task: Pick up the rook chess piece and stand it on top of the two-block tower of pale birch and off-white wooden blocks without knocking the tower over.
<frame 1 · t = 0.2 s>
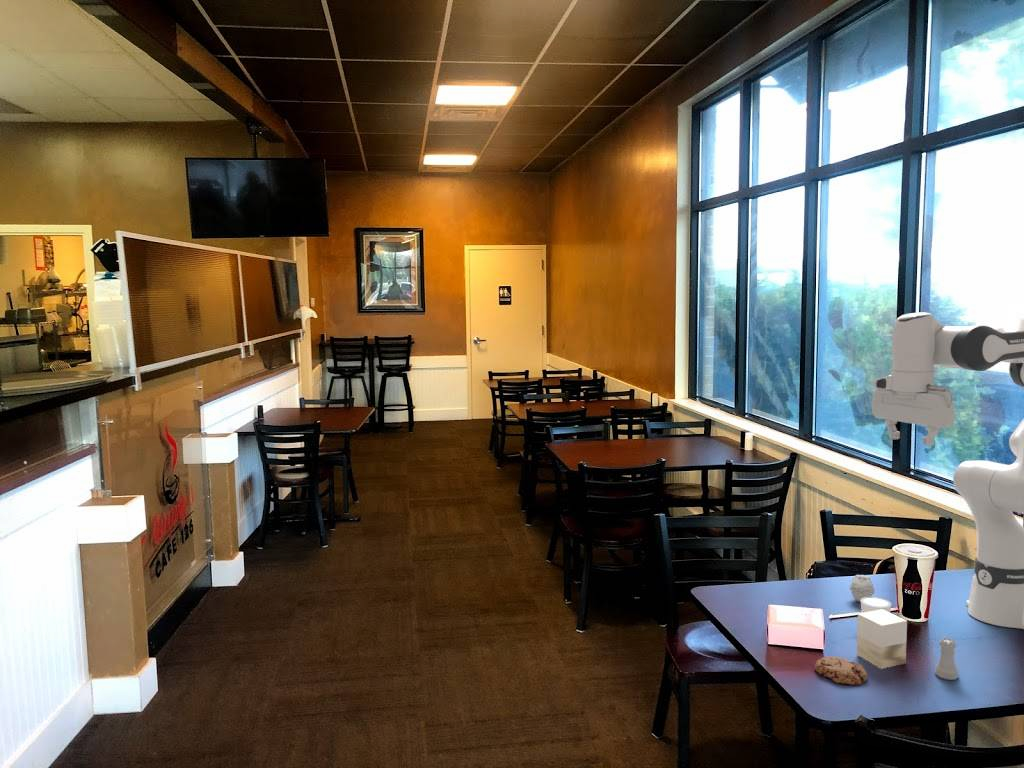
hand: (910, 442, 177), 47 cm above the table, tool pointing down, fingers open, 8 cm apart
cookie: (840, 676, 165), on the table
rook chess piece: (946, 676, 163), on the table
lower block: (880, 659, 171), on the table, touching upper block
upper block: (881, 638, 170), point 5 cm above the table, touching lower block
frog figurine: (861, 602, 204), on the table
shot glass: (875, 629, 187), on the table
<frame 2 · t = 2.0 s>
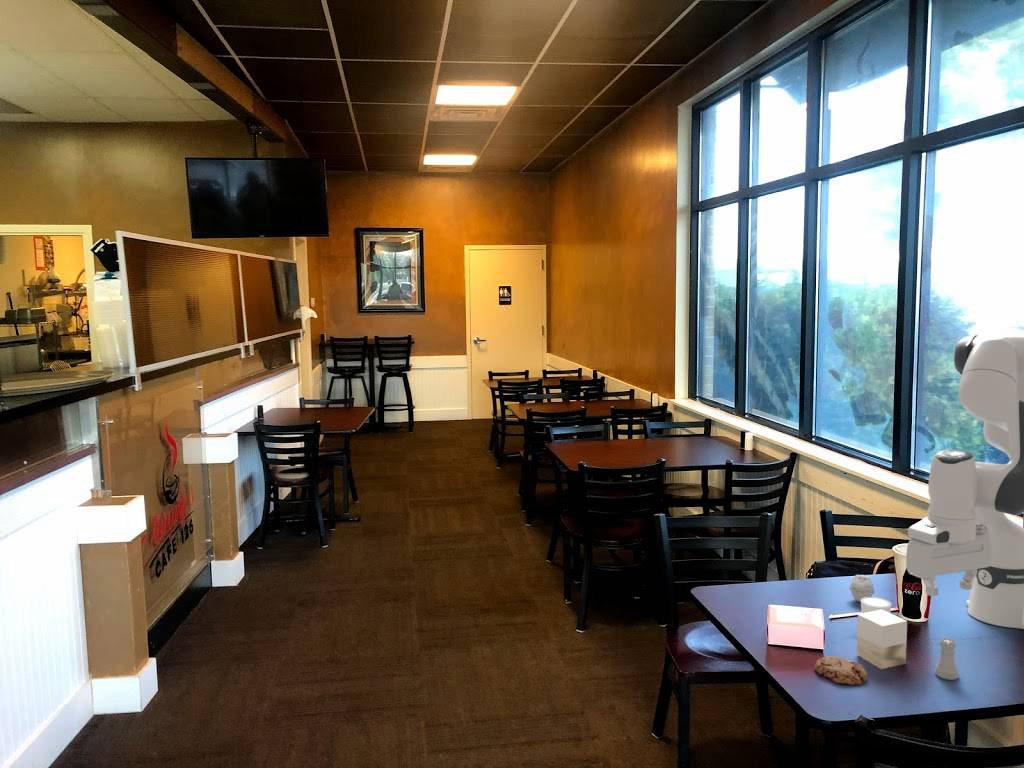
hand: (949, 591, 161), 19 cm above the table, tool pointing down, fingers open, 8 cm apart
nothing on the table moved.
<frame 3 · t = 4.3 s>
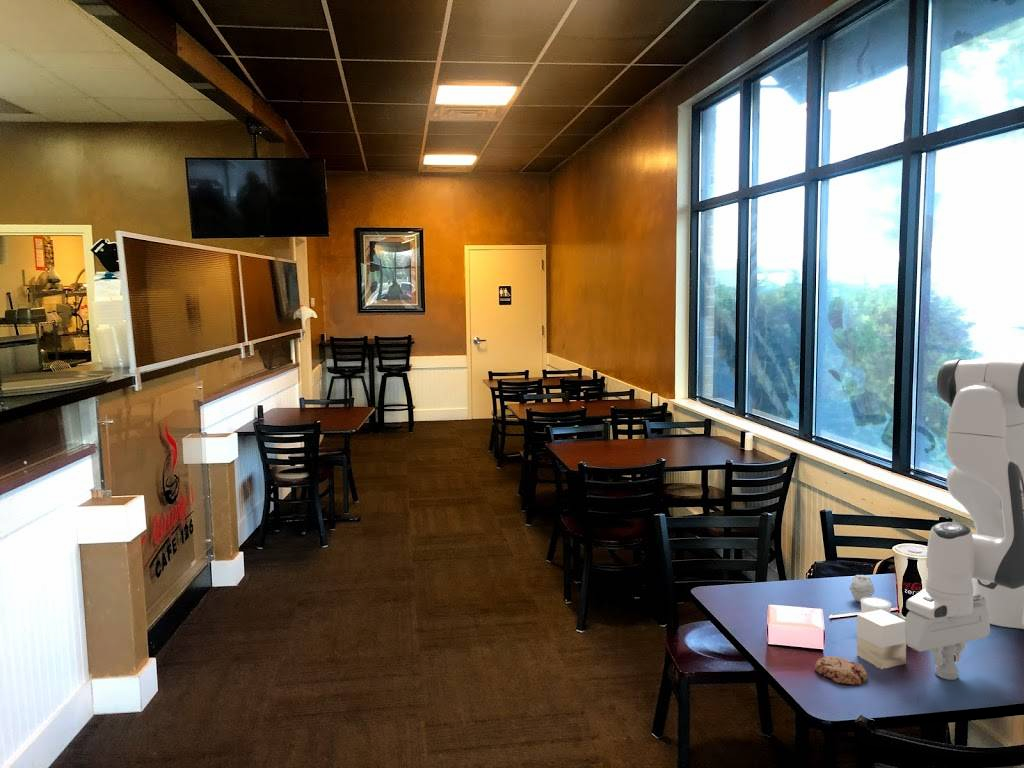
hand: (947, 662, 162), 3 cm above the table, tool pointing down, fingers closed on rook chess piece, 3 cm apart
rook chess piece: (946, 676, 163), on the table, touching gripper
everything else where it was.
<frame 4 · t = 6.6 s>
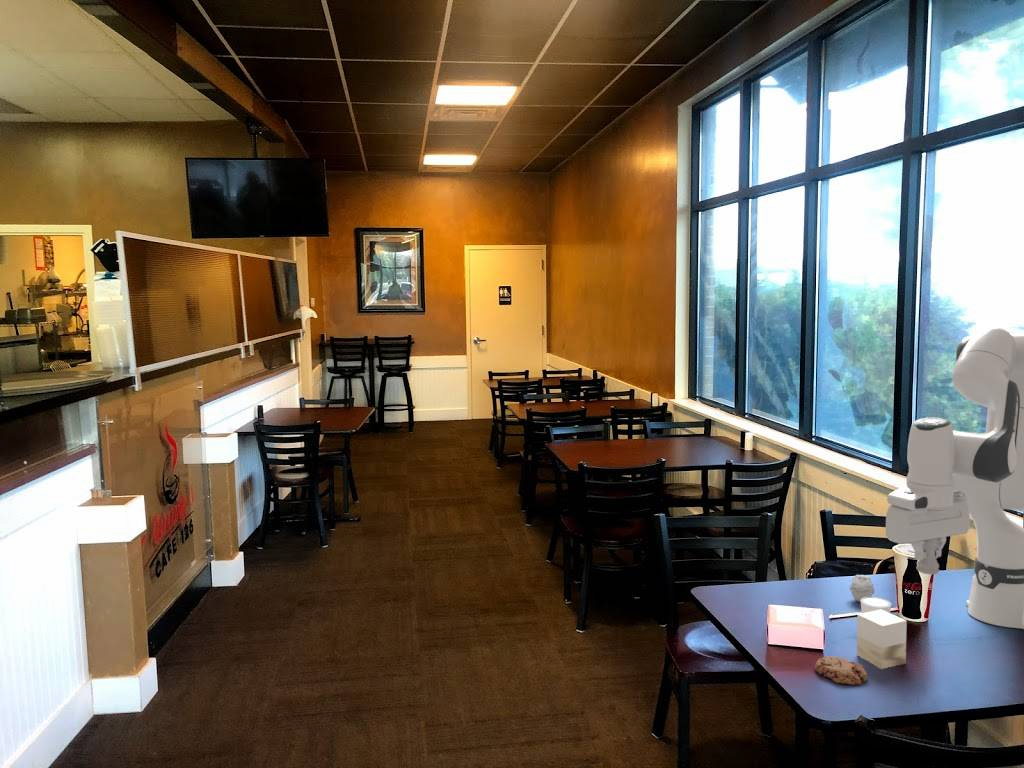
hand: (927, 557, 163), 25 cm above the table, tool pointing down, fingers closed on rook chess piece, 3 cm apart
rook chess piece: (927, 572, 163), point 22 cm above the table, touching gripper
everything else where it was.
when the fingers open (14 cm above the table, at t = 9.2 s): rook chess piece drops 1 cm, resting on upper block.
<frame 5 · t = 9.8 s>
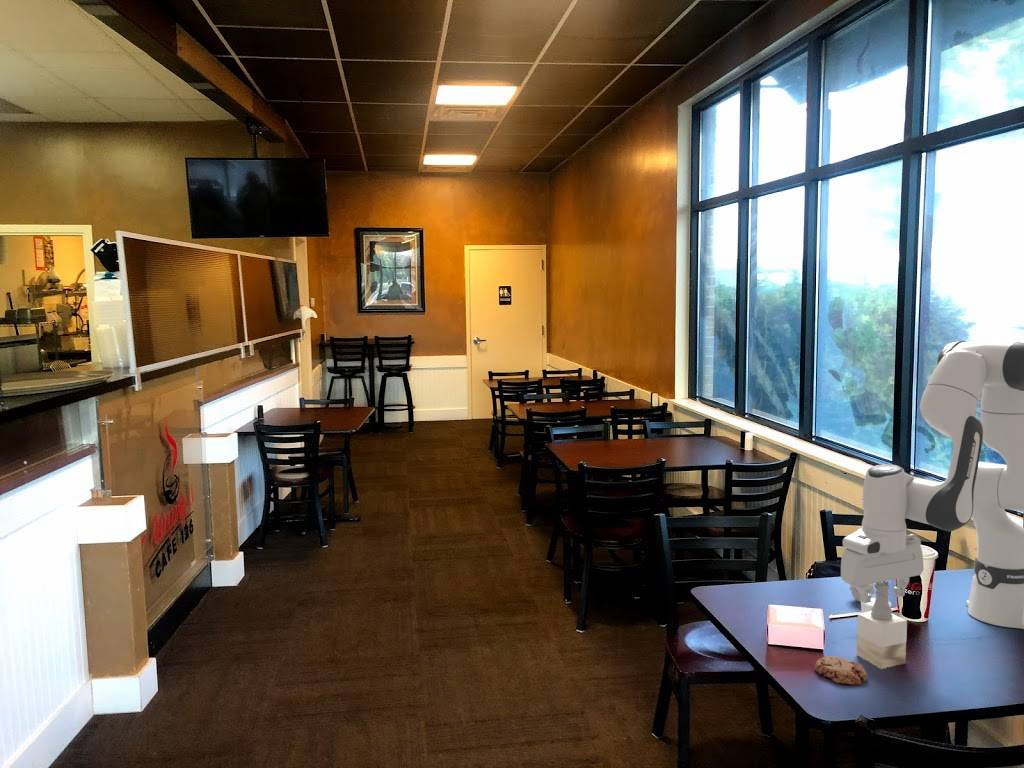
hand: (882, 598, 169), 14 cm above the table, tool pointing down, fingers open, 8 cm apart
rook chess piece: (881, 617, 170), point 10 cm above the table, touching upper block
upper block: (881, 638, 170), point 5 cm above the table, touching lower block, rook chess piece
everything else where it was.
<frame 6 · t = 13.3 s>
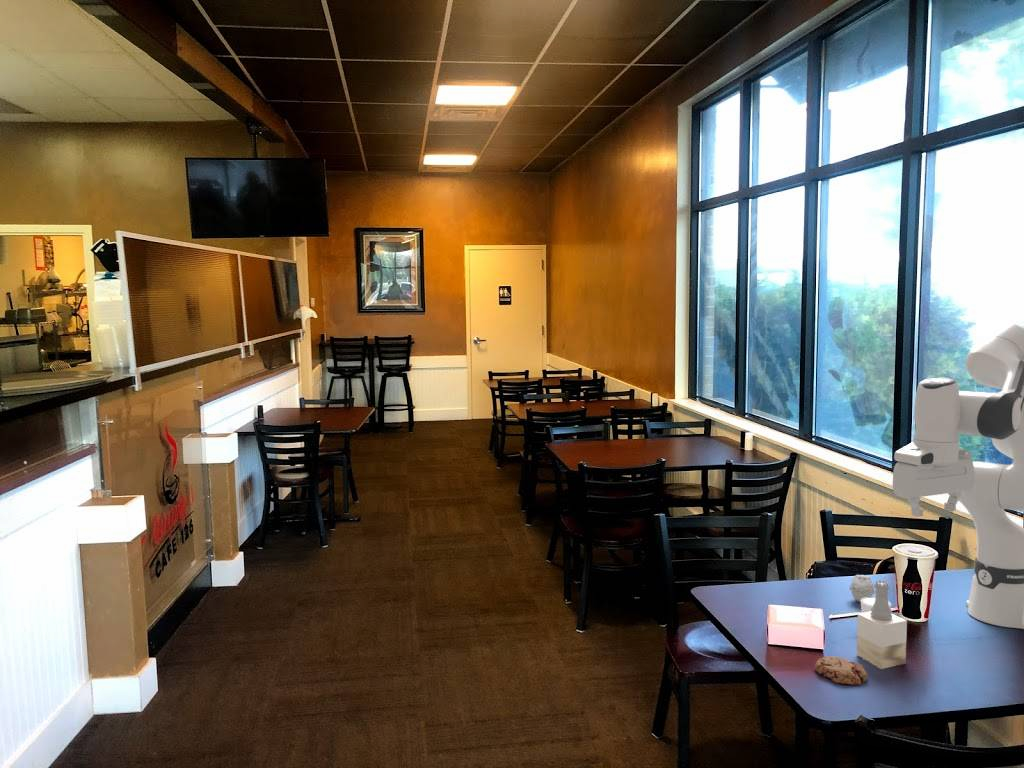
hand: (933, 513, 168), 33 cm above the table, tool pointing down, fingers open, 8 cm apart
nothing on the table moved.
at the end: rook chess piece 0.1 cm off-centre on the upper block, point 4.8 cm above the upper block's base; rook chess piece tilted 0°; upper block moved 0.1 cm from its start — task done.
